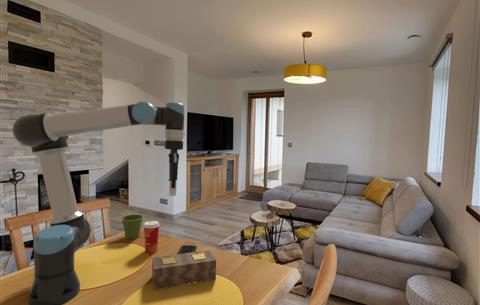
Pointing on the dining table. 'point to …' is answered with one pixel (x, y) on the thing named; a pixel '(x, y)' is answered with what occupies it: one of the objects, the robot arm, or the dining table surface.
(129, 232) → the plant pot
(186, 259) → the walnut block
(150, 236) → the paper cup
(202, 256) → the peg right
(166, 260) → the peg left
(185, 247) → the phone
